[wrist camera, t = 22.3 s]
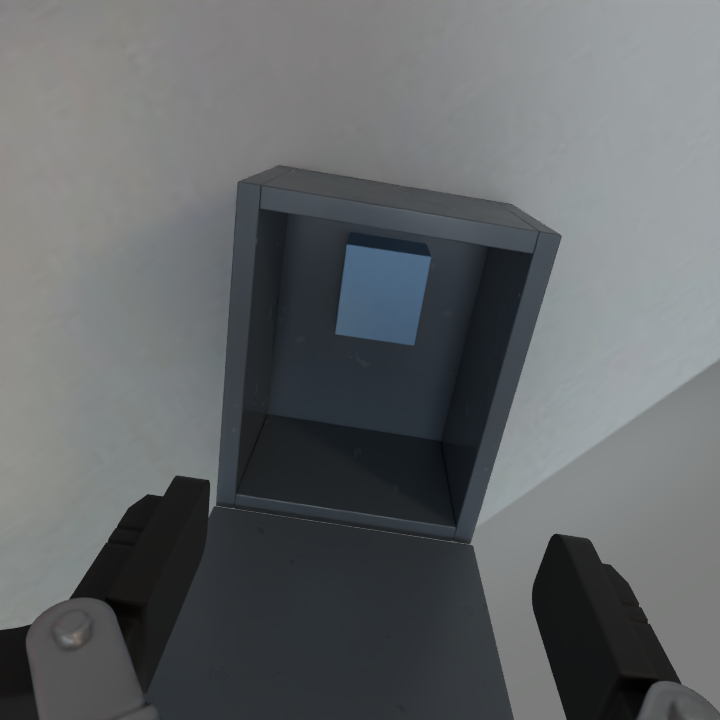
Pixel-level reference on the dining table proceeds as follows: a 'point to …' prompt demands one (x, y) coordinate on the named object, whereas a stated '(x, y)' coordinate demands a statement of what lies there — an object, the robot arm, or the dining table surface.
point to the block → (382, 288)
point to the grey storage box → (373, 355)
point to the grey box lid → (329, 628)
